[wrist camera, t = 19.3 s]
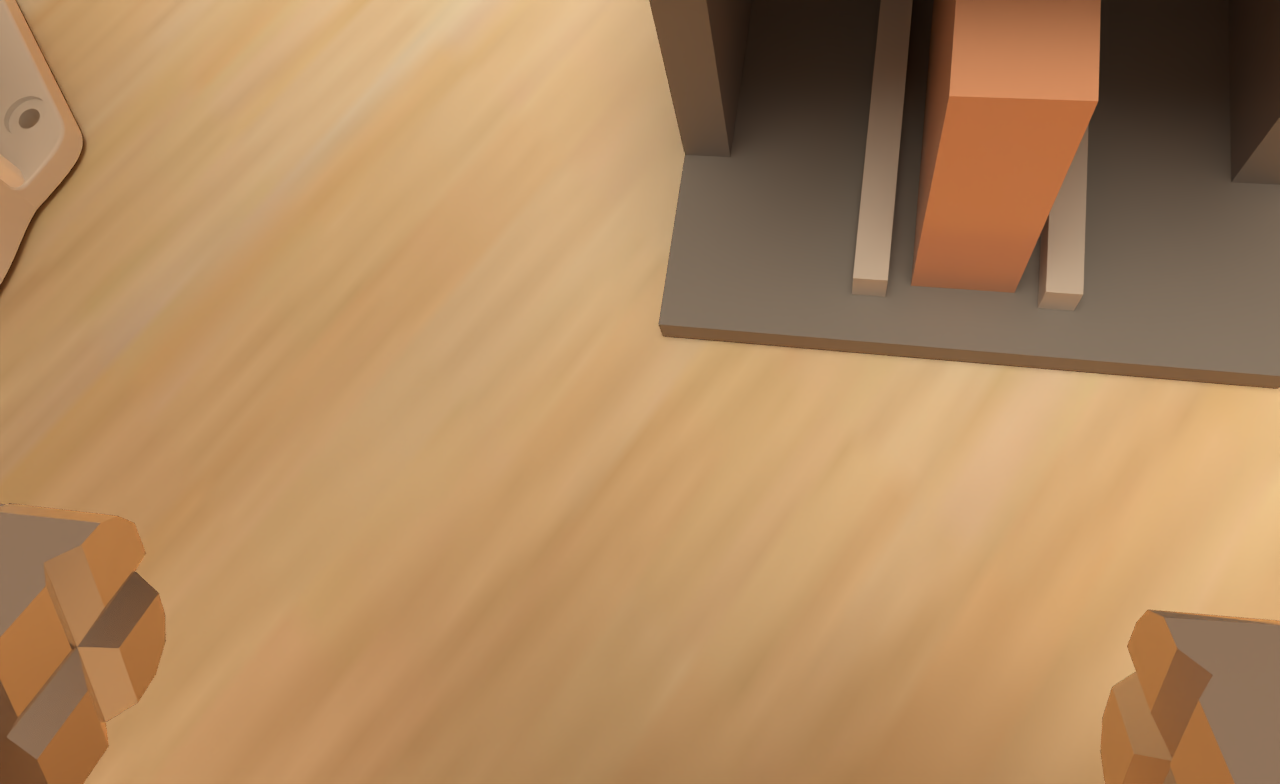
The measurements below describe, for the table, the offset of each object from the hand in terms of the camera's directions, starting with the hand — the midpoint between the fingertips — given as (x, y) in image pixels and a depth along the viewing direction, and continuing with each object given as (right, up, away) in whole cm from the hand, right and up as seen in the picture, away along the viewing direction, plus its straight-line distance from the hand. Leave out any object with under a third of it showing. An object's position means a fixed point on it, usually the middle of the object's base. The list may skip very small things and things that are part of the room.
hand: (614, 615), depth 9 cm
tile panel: (+11, +10, +24) cm, 28 cm away
